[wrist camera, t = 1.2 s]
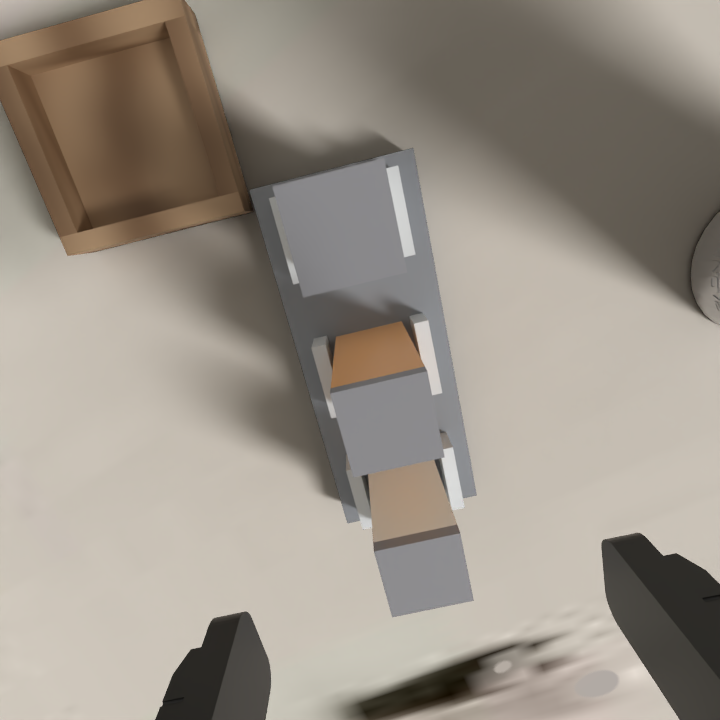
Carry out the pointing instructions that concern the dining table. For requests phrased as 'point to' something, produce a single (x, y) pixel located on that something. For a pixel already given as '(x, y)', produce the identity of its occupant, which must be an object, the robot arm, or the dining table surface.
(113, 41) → the tray
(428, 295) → the fuse block
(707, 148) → the dining table surface
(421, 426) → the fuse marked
